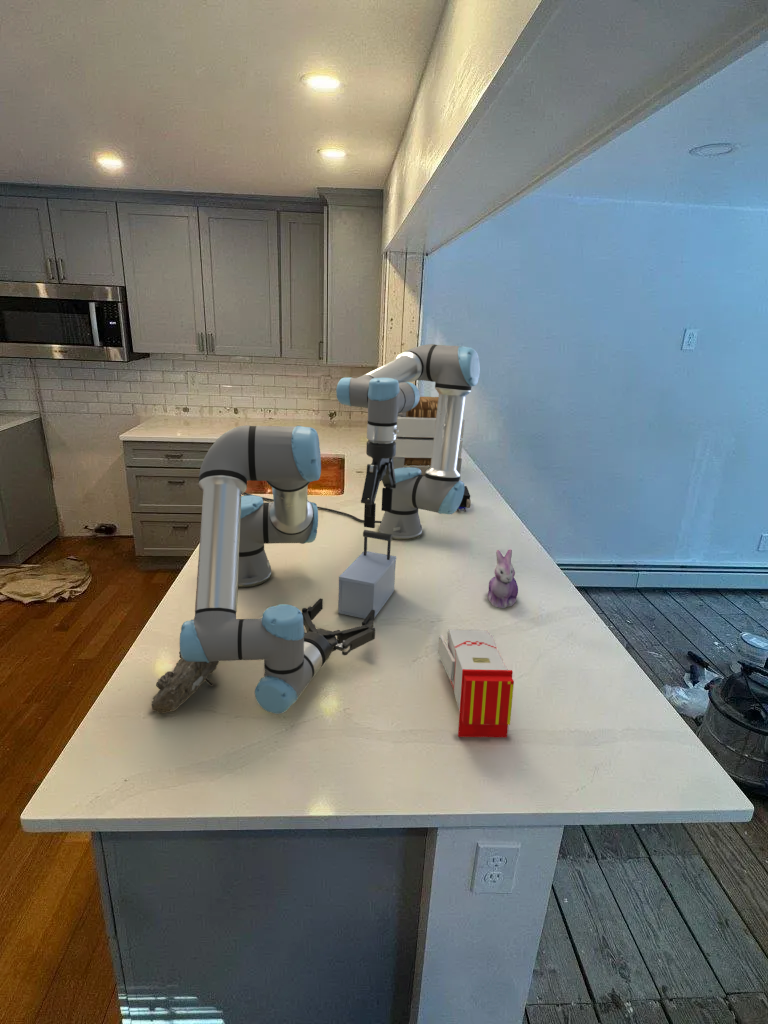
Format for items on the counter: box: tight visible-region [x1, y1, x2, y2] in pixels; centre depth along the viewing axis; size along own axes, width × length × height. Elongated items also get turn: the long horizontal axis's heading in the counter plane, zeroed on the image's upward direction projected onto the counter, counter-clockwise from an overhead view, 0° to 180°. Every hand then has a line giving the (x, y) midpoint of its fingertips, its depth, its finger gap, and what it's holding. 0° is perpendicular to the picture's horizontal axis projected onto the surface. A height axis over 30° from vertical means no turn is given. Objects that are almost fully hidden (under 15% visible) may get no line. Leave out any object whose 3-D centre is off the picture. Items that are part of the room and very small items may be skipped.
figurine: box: [487, 548, 519, 609], centre depth 154 cm, size 9×10×15 cm
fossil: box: [151, 651, 220, 714], centre depth 116 cm, size 22×10×15 cm
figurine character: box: [456, 485, 472, 513], centre depth 228 cm, size 7×8×15 cm
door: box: [338, 529, 397, 586], centre depth 149 cm, size 18×10×8 cm, turn 161°
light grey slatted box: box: [393, 396, 465, 475], centre depth 268 cm, size 34×33×41 cm
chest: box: [337, 559, 397, 620], centre depth 151 cm, size 18×10×10 cm, turn 161°
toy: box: [437, 628, 515, 738], centre depth 117 cm, size 12×13×30 cm
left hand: (346, 609), depth 137 cm, fingers open, 13 cm apart
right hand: (378, 518), depth 151 cm, fingers open, 13 cm apart
